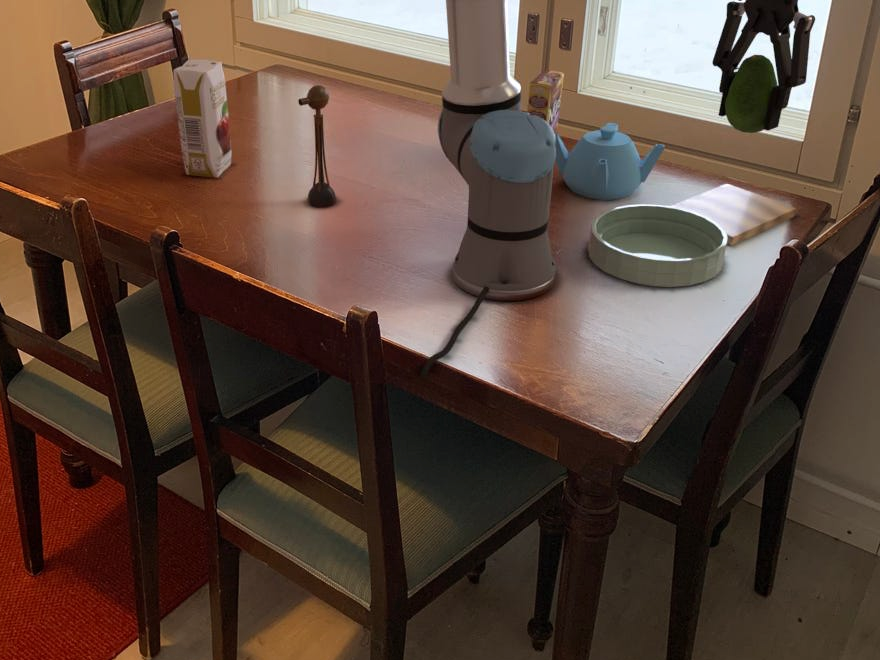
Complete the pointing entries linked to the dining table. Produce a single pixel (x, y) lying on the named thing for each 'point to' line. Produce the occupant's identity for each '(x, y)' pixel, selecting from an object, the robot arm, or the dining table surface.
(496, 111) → the robot arm
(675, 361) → the dining table surface
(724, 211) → the board
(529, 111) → the candy box
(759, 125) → the avocado
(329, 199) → the wooden tabletop sculpture
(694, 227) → the bowl
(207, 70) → the juice carton
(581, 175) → the teapot
